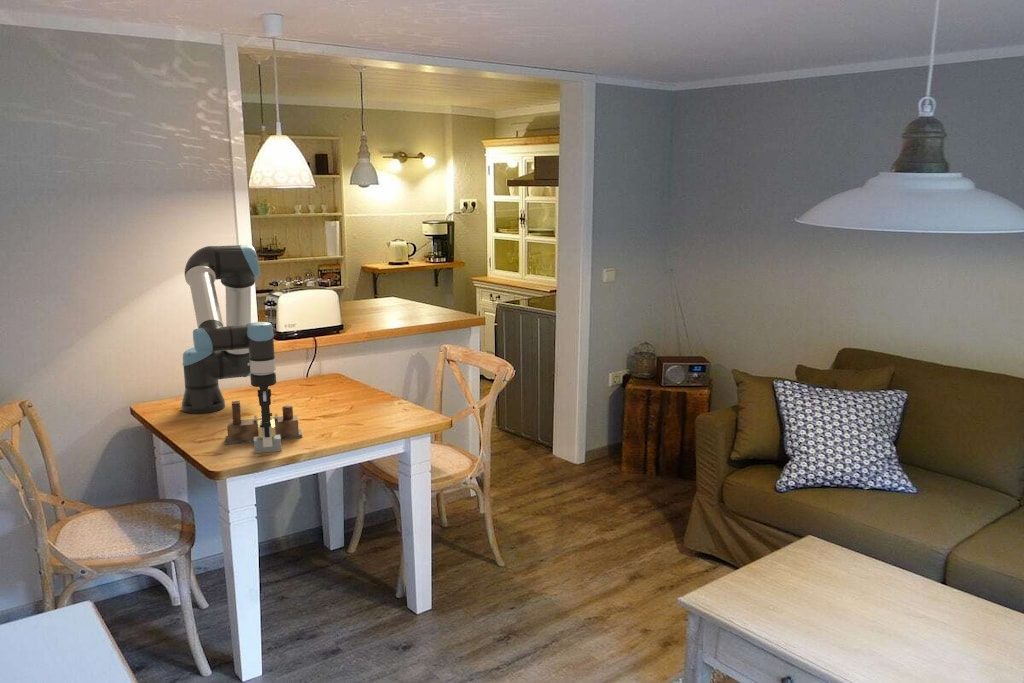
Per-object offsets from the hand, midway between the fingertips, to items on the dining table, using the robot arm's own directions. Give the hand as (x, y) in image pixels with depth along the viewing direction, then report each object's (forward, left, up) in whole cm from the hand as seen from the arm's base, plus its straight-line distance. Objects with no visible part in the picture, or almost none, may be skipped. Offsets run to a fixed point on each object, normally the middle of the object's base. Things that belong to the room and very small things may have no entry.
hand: (267, 441), depth 241 cm
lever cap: (0, 0, +3) cm, 3 cm away
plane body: (-13, -1, -3) cm, 13 cm away
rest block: (0, 0, -3) cm, 3 cm away
